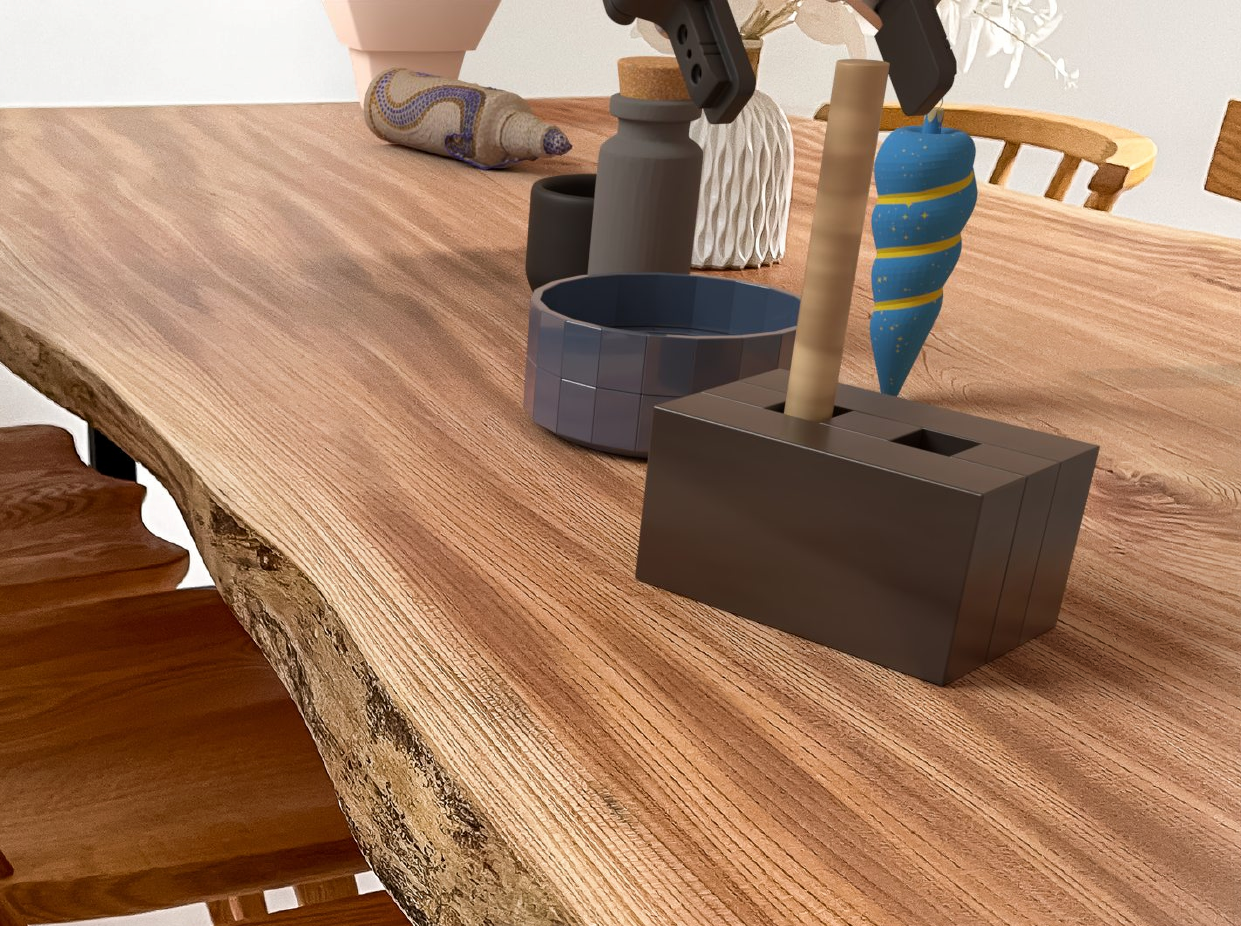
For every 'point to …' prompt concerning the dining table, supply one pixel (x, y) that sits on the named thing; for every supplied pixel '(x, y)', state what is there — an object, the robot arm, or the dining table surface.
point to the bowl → (408, 34)
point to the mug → (559, 228)
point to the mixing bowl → (645, 349)
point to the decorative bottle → (458, 120)
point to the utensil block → (864, 522)
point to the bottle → (647, 173)
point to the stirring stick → (836, 236)
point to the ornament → (916, 237)
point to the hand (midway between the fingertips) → (836, 105)
